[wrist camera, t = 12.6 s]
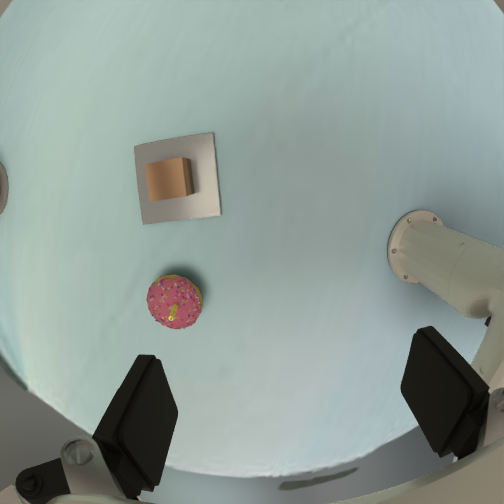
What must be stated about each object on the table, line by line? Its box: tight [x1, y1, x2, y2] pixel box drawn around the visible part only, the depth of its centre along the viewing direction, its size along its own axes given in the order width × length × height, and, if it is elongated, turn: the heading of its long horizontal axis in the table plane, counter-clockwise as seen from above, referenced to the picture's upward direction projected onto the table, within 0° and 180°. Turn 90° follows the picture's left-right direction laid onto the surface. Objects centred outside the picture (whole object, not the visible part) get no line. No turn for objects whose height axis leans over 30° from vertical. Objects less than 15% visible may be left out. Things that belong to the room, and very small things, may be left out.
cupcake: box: [147, 274, 203, 329], centre depth 39 cm, size 9×8×12 cm
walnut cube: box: [145, 157, 195, 202], centre depth 36 cm, size 5×5×5 cm
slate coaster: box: [134, 132, 222, 225], centre depth 39 cm, size 12×12×1 cm
